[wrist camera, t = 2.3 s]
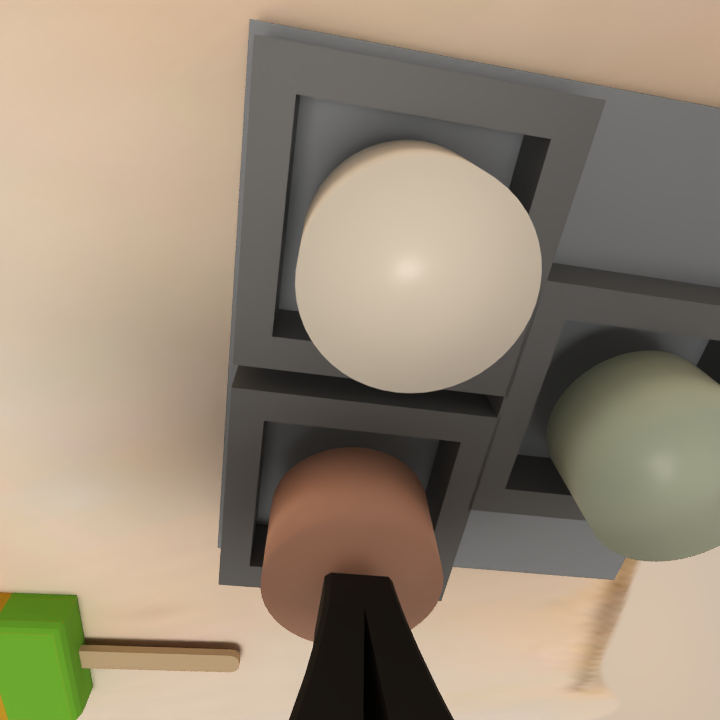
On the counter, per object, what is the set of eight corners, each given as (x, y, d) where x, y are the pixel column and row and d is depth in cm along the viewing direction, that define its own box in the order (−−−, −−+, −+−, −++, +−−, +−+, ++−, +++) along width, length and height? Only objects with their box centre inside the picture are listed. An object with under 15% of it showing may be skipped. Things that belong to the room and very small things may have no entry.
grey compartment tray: (805, 127, 13) (916, 140, 11) (598, 552, 19) (637, 622, 17) (257, 23, 12) (237, 10, 9) (224, 519, 18) (207, 591, 15)
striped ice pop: (-200, 572, 19) (-253, 622, 17) (244, 589, 20) (236, 636, 19) (-150, 673, 21) (-191, 724, 20) (242, 681, 23) (235, 730, 21)
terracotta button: (442, 456, 14) (462, 527, 11) (409, 571, 15) (422, 651, 13) (278, 438, 13) (268, 509, 11) (265, 560, 15) (254, 640, 13)
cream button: (526, 158, 10) (576, 180, 8) (472, 347, 12) (502, 404, 10) (315, 122, 10) (310, 135, 8) (291, 324, 12) (283, 378, 10)
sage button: (742, 361, 13) (824, 419, 11) (670, 496, 14) (729, 568, 12) (578, 340, 12) (630, 396, 10) (525, 481, 14) (560, 553, 12)
